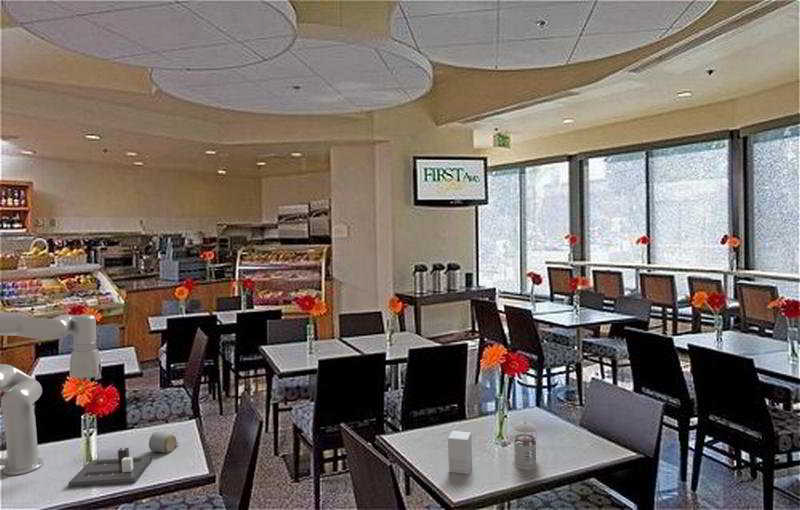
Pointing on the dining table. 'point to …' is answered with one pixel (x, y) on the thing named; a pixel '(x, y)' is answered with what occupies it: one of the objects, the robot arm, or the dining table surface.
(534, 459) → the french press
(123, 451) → the black fader
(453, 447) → the supplement box
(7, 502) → the dining table surface
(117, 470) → the grey slider board
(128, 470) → the white upright block
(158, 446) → the grey cylinder
